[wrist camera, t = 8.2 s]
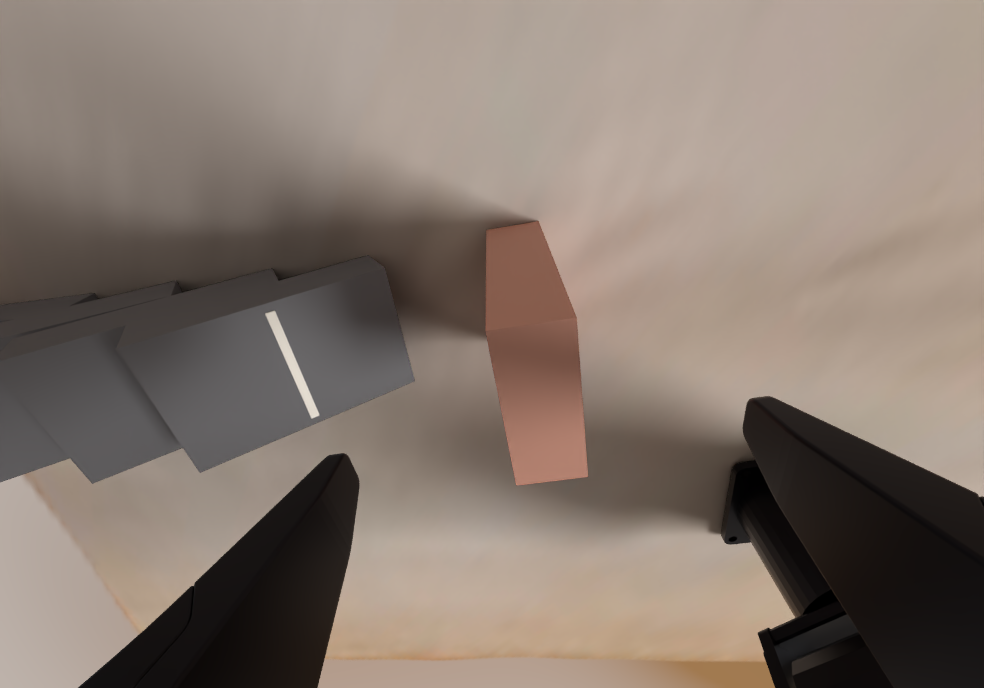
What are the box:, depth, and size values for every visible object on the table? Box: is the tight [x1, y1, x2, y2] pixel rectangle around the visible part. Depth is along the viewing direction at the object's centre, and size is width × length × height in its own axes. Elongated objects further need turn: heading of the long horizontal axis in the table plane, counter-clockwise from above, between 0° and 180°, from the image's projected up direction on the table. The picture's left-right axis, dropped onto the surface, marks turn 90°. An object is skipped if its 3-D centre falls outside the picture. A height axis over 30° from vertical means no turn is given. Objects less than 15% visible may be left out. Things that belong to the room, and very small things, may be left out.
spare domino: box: [486, 221, 588, 486], centre depth 14 cm, size 5×2×8 cm, turn 9°
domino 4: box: [0, 281, 182, 482], centre depth 16 cm, size 5×2×8 cm
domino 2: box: [116, 255, 415, 473], centre depth 16 cm, size 5×2×8 cm
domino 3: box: [0, 269, 278, 484], centre depth 16 cm, size 5×2×8 cm
